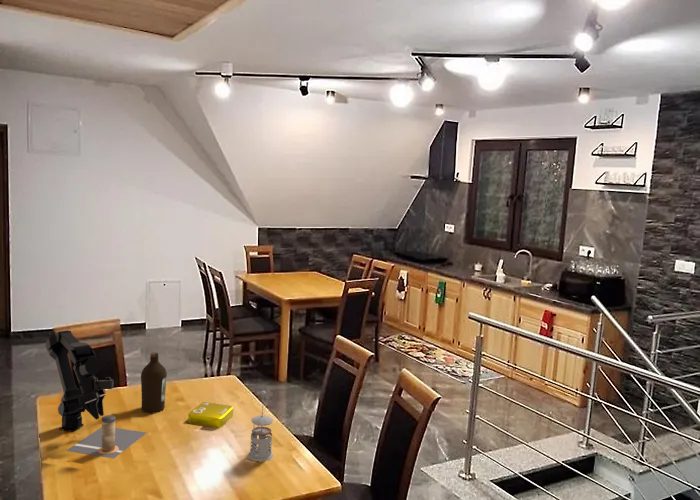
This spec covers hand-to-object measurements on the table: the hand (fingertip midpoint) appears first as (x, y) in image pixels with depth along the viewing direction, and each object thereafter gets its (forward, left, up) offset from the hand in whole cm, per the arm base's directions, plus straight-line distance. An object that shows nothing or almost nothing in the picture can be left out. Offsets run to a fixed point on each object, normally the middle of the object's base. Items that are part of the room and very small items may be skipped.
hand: (100, 417), depth 214 cm
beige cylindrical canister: (+8, -7, -8) cm, 13 cm away
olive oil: (+2, +35, -10) cm, 37 cm away
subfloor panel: (+4, -1, -10) cm, 11 cm away
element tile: (+30, +33, -11) cm, 46 cm away
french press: (+60, +9, -10) cm, 62 cm away
